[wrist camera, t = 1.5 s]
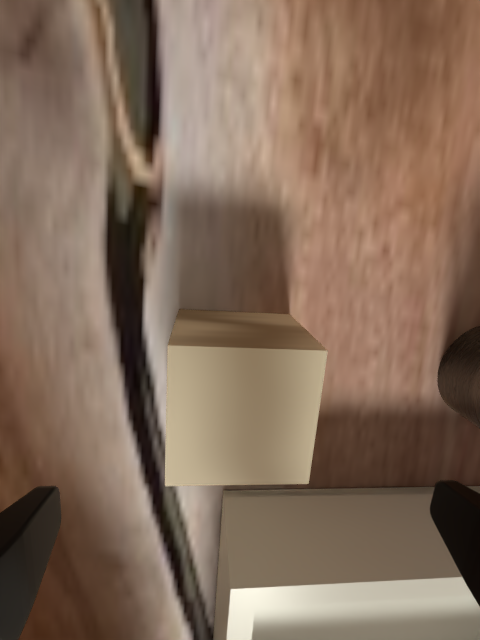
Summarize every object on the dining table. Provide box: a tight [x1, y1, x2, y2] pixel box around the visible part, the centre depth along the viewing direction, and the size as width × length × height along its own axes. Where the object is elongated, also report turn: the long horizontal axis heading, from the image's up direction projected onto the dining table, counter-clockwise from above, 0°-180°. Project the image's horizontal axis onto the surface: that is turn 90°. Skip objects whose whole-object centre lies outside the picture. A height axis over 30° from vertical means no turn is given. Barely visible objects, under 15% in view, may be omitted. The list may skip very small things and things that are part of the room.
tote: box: [213, 486, 480, 640], centre depth 18 cm, size 18×14×5 cm
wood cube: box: [165, 309, 328, 486], centre depth 13 cm, size 5×5×5 cm
